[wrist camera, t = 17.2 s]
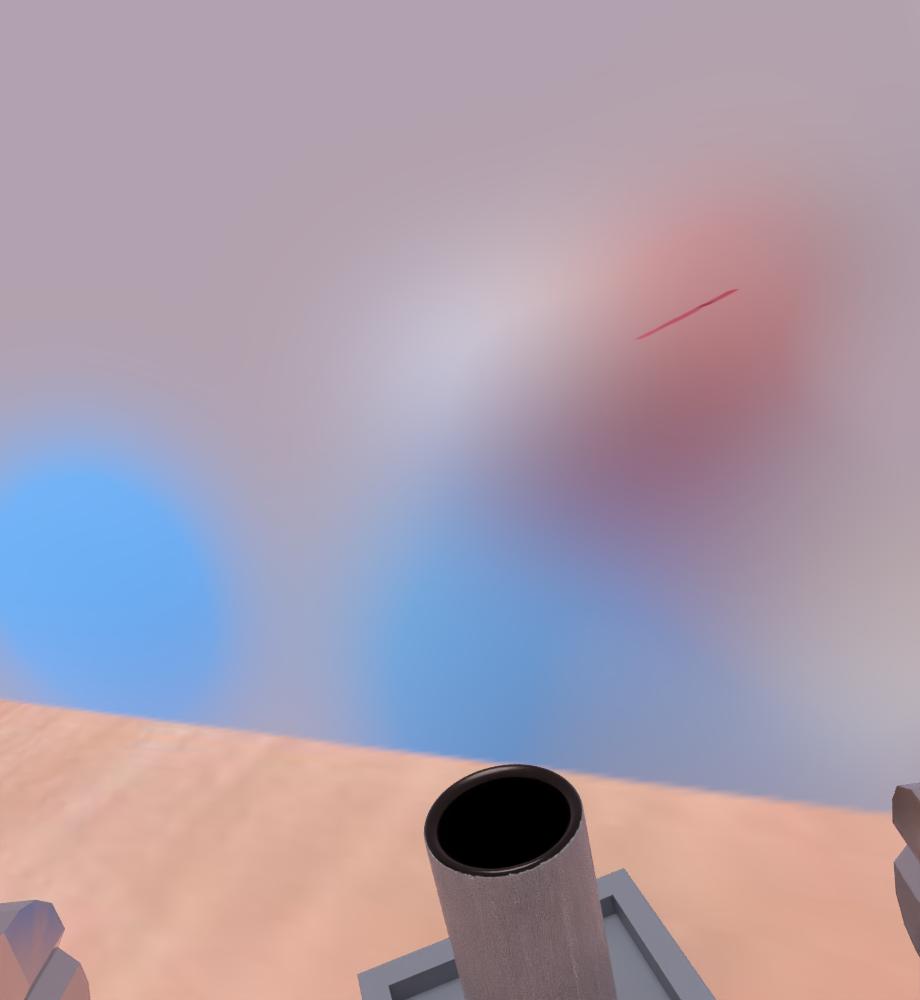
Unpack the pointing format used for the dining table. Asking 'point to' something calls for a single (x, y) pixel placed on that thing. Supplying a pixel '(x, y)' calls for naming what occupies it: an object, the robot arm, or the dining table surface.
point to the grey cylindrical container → (519, 887)
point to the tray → (631, 941)
